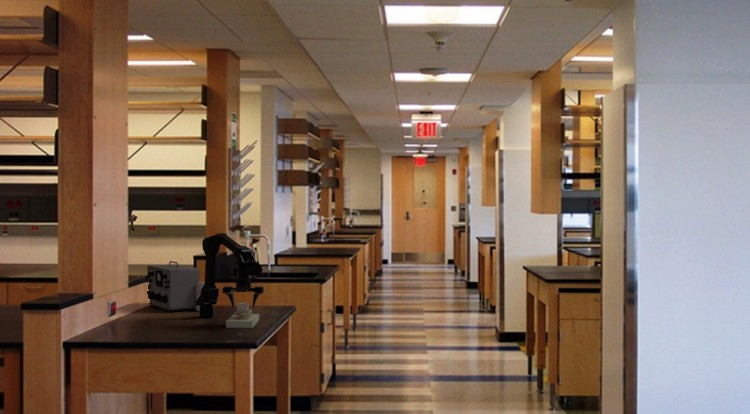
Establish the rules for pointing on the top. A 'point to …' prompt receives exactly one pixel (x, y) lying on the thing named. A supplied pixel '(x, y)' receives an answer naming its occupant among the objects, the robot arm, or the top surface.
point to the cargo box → (242, 307)
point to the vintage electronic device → (172, 286)
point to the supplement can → (198, 291)
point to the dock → (242, 322)
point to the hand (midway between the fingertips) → (243, 308)
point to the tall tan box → (243, 314)
